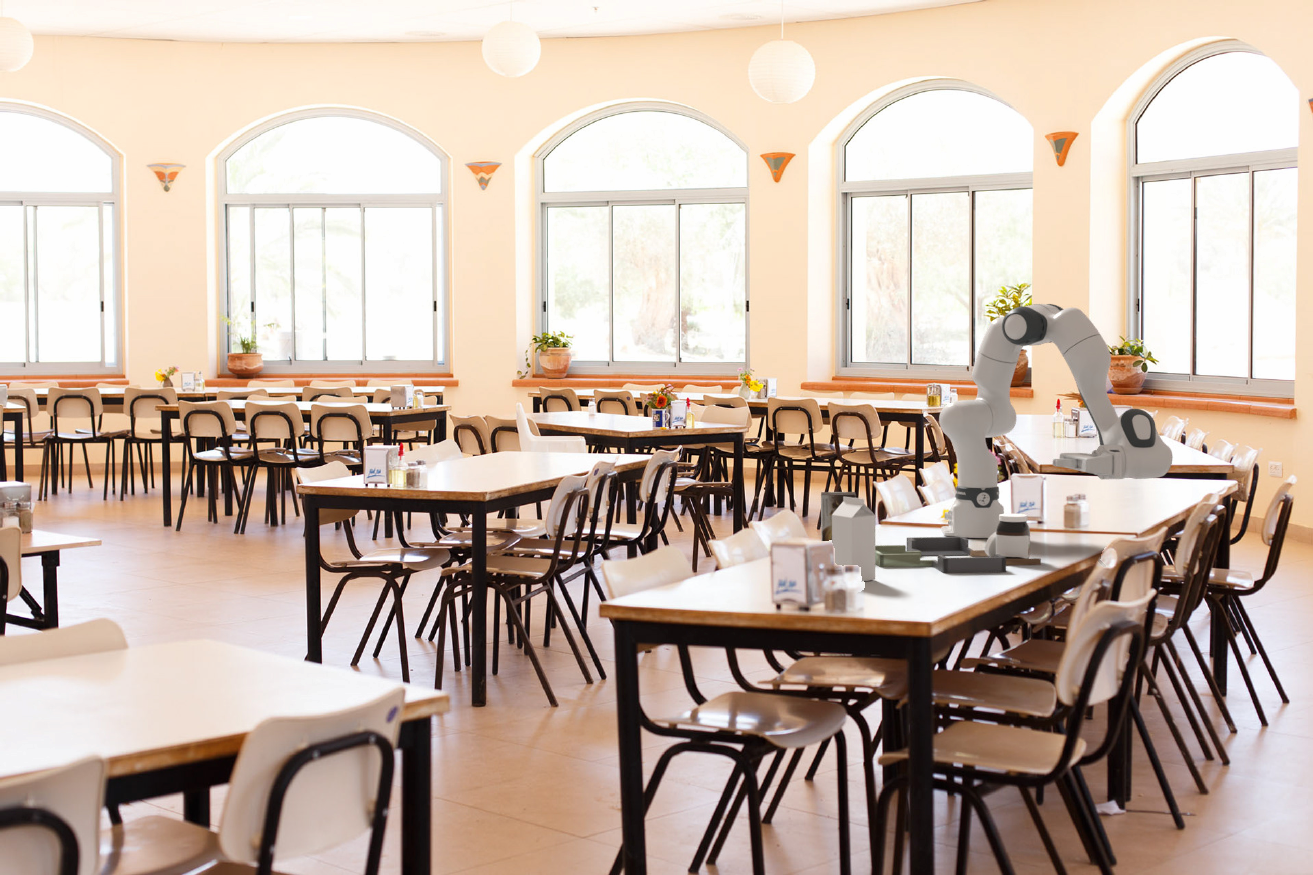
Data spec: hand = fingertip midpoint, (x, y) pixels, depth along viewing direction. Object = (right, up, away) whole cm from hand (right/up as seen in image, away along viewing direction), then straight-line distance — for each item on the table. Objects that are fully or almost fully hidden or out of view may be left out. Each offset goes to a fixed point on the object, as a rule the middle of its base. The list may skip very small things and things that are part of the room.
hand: (1054, 462), depth 337 cm
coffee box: (-54, -24, +7) cm, 60 cm away
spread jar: (-14, -25, -5) cm, 29 cm away
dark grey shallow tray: (-27, -25, -20) cm, 42 cm away
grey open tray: (-28, -24, +8) cm, 37 cm away
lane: (-28, -24, -6) cm, 37 cm away
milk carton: (-56, -26, -33) cm, 71 cm away
